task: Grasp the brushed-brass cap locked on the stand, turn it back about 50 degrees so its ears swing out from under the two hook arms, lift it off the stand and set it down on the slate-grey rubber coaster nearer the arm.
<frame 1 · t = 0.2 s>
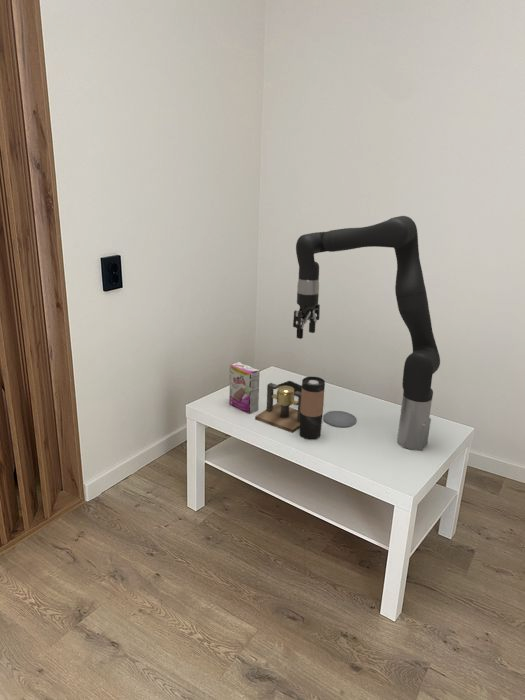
hand: (305, 335, 198), 29 cm above the table, fingers open, 8 cm apart
candy bar box: (243, 408, 206), on the table
travel mug: (309, 435, 189), on the table
cap: (285, 402, 197), point 7 cm above the table, touching stand
phone: (296, 391, 223), on the table
stand: (284, 418, 199), on the table
coaster: (339, 419, 200), on the table
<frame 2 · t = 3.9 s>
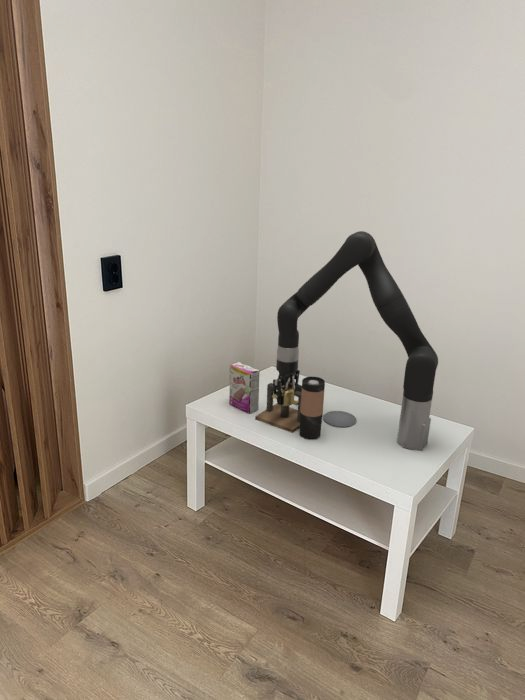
hand: (285, 401, 196), 7 cm above the table, fingers closed on cap, 5 cm apart
cap: (285, 402, 197), point 7 cm above the table, touching stand, gripper
everything else where it was.
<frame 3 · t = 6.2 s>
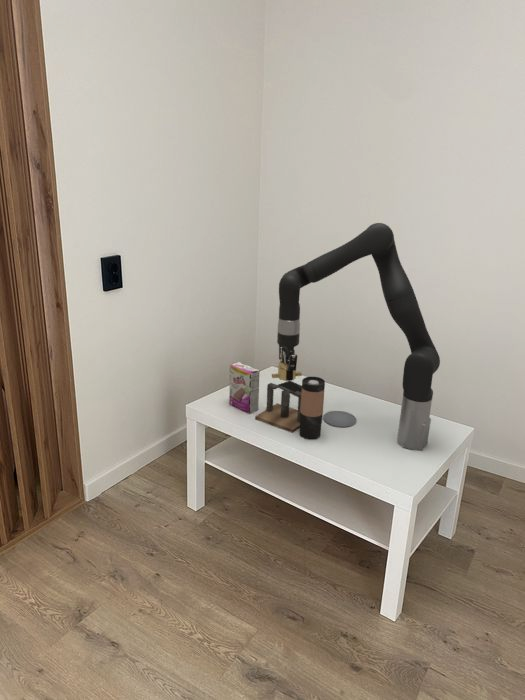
hand: (286, 376, 193), 17 cm above the table, fingers closed on cap, 5 cm apart
cap: (286, 377, 193), point 16 cm above the table, touching gripper
everything else where it was.
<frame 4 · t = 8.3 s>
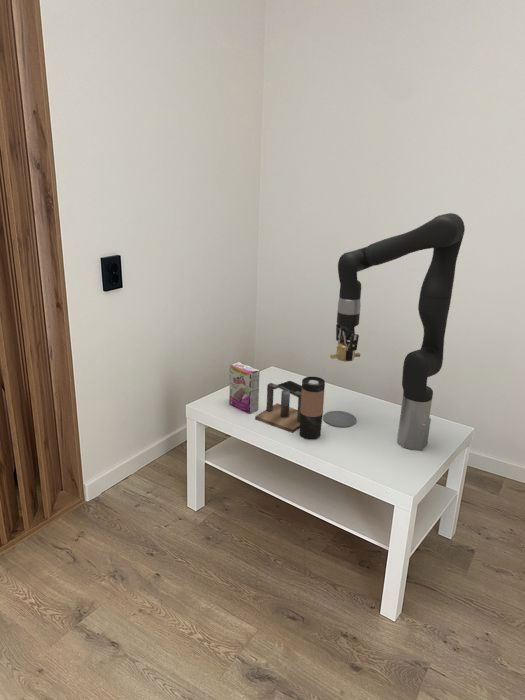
hand: (345, 357, 191), 24 cm above the table, fingers closed on cap, 5 cm apart
cap: (345, 358, 191), point 24 cm above the table, touching gripper
everything else where it was.
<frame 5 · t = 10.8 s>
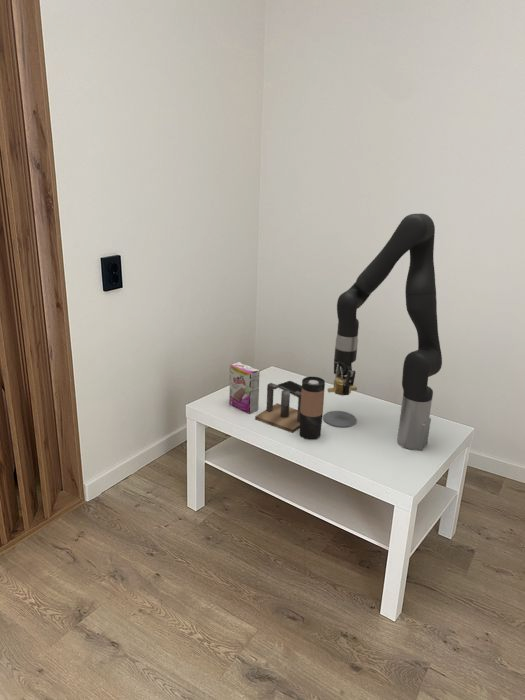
hand: (342, 390, 196), 11 cm above the table, fingers closed on cap, 5 cm apart
cap: (342, 391, 196), point 11 cm above the table, touching gripper
everything else where it was.
when the fingers open (3 cm above the table, at t = 13.1 s): cap drops 2 cm, resting on coaster.
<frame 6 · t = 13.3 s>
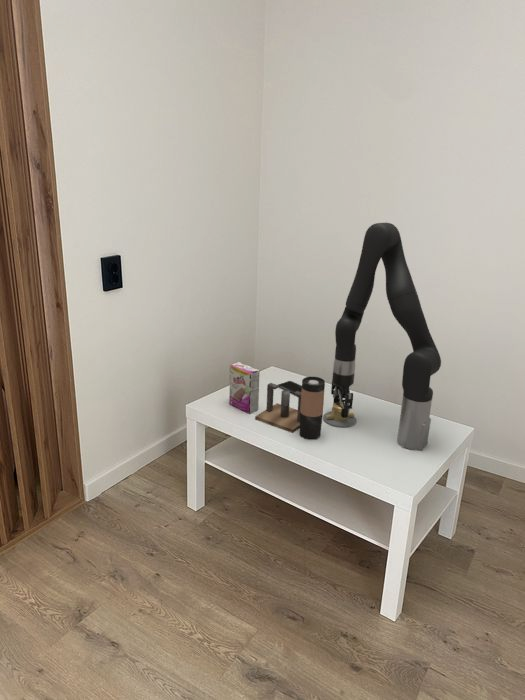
hand: (340, 412, 199), 3 cm above the table, fingers open, 7 cm apart
cap: (339, 418, 199), point 1 cm above the table, touching coaster
everything else where it was.
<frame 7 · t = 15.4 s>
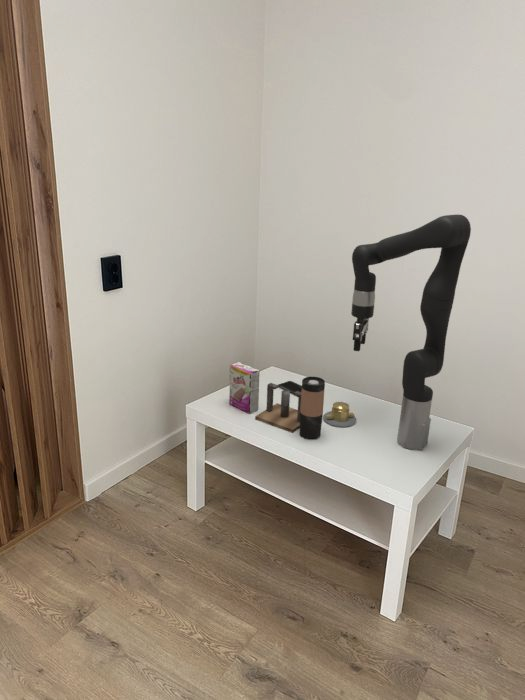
hand: (359, 347, 195), 27 cm above the table, fingers open, 8 cm apart
nothing on the table moved.
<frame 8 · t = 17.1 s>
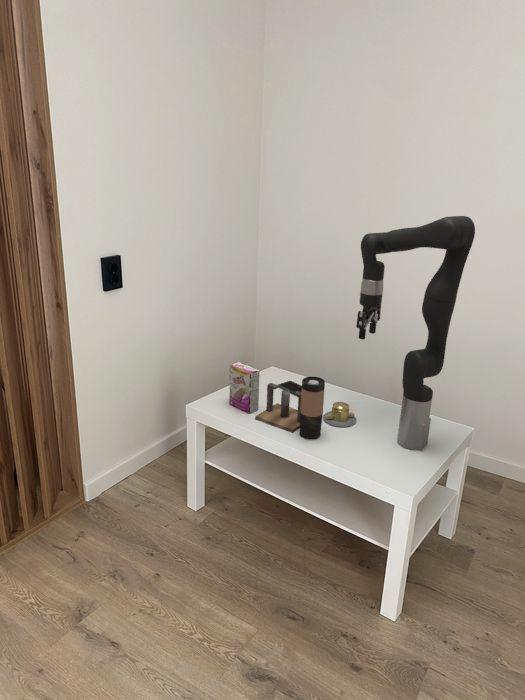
hand: (367, 336, 195), 30 cm above the table, fingers open, 8 cm apart
nothing on the table moved.
at the end: cap inside the target area on the coaster (0.1 cm from its centre), point 0.6 cm above the coaster's base; cap tilted 0°; the gripper is holding nothing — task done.
